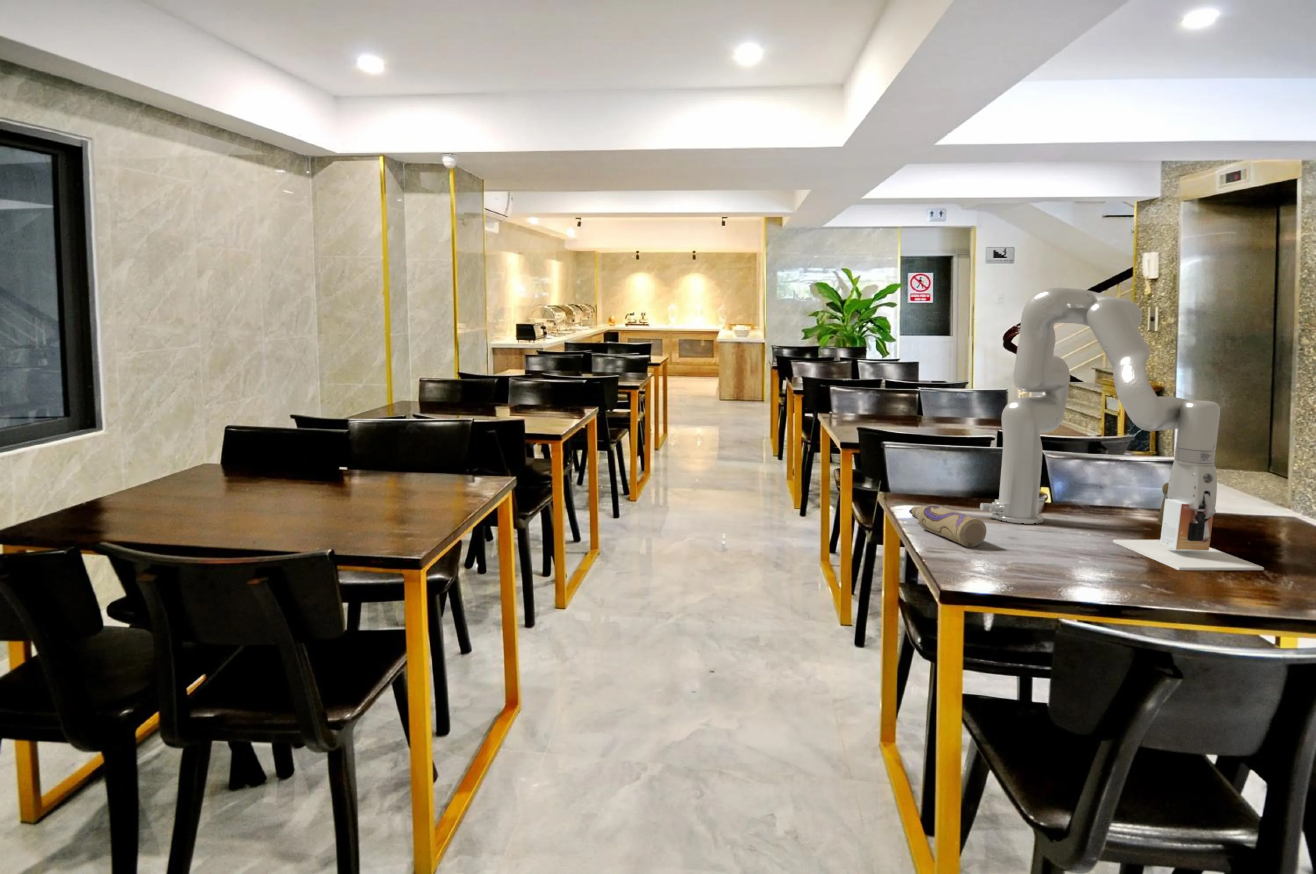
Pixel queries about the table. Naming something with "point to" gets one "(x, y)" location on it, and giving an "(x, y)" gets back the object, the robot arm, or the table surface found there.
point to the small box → (1181, 527)
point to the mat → (1188, 557)
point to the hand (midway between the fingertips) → (1185, 536)
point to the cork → (1163, 503)
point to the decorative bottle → (951, 524)
